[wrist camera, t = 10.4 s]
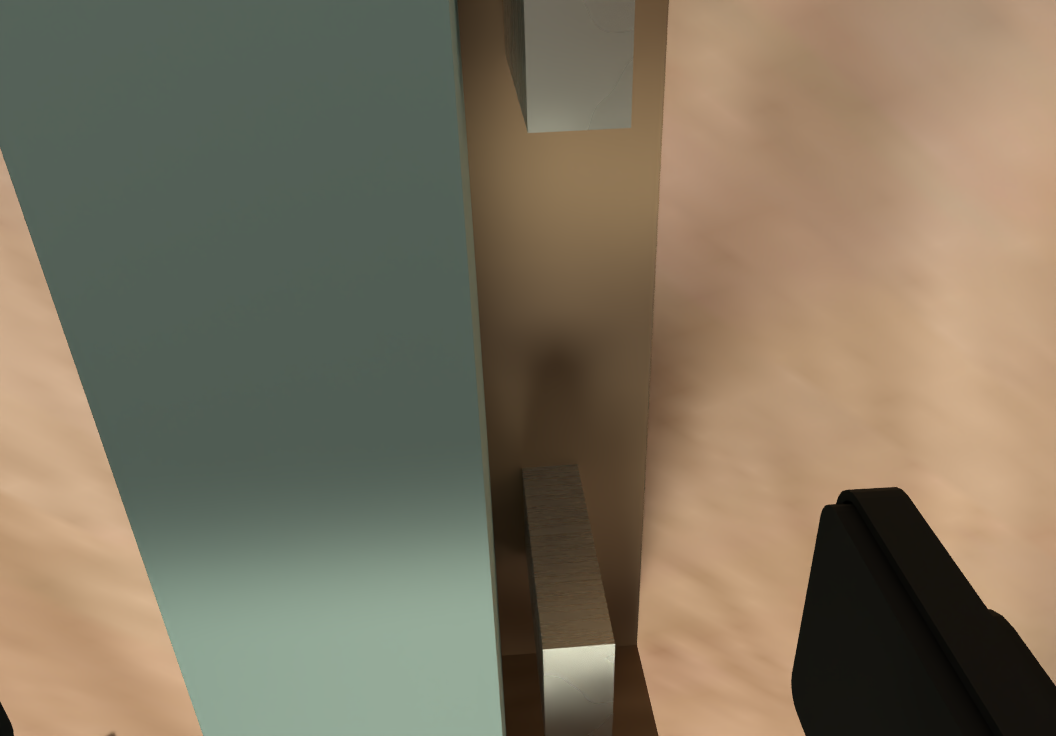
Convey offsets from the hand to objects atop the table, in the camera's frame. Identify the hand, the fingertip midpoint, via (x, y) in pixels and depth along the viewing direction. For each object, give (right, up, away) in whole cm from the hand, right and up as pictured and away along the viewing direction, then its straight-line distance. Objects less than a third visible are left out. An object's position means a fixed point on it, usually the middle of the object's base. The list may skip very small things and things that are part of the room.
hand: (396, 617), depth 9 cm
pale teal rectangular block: (-1, +4, +7) cm, 8 cm away
